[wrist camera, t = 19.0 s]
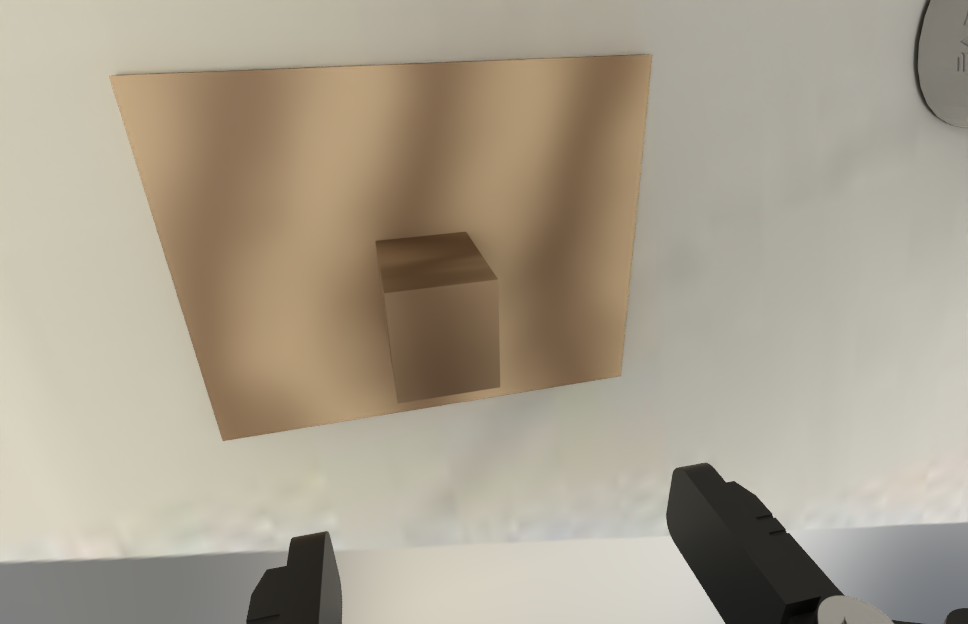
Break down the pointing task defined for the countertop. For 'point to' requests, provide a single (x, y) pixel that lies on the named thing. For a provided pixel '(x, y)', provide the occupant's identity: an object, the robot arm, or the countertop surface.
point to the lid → (393, 228)
